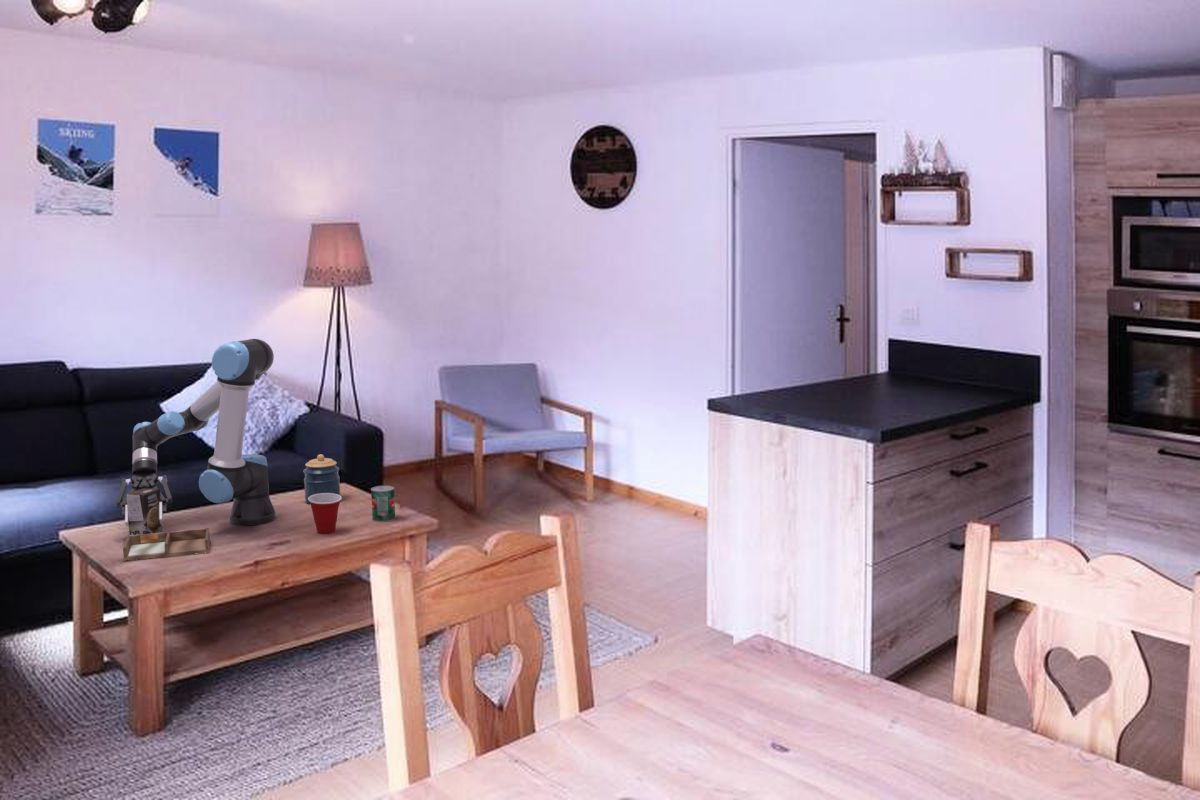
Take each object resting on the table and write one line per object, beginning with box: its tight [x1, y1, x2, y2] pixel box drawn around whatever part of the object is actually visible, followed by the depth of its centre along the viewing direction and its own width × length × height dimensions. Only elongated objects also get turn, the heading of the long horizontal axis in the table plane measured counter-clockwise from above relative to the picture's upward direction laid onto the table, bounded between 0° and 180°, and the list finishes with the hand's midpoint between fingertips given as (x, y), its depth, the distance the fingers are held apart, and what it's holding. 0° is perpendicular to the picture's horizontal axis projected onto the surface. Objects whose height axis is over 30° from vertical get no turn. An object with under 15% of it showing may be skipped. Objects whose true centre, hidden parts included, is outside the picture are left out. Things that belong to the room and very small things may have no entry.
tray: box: [122, 527, 211, 562], centre depth 318 cm, size 24×14×4 cm, turn 109°
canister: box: [302, 453, 342, 505], centre depth 378 cm, size 13×13×18 cm
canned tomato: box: [370, 485, 396, 523], centre depth 352 cm, size 8×8×11 cm
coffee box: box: [125, 488, 164, 536], centre depth 330 cm, size 9×6×16 cm
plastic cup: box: [308, 493, 343, 535], centre depth 337 cm, size 11×11×12 cm
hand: (144, 522), depth 327 cm, fingers closed on coffee box, 9 cm apart
